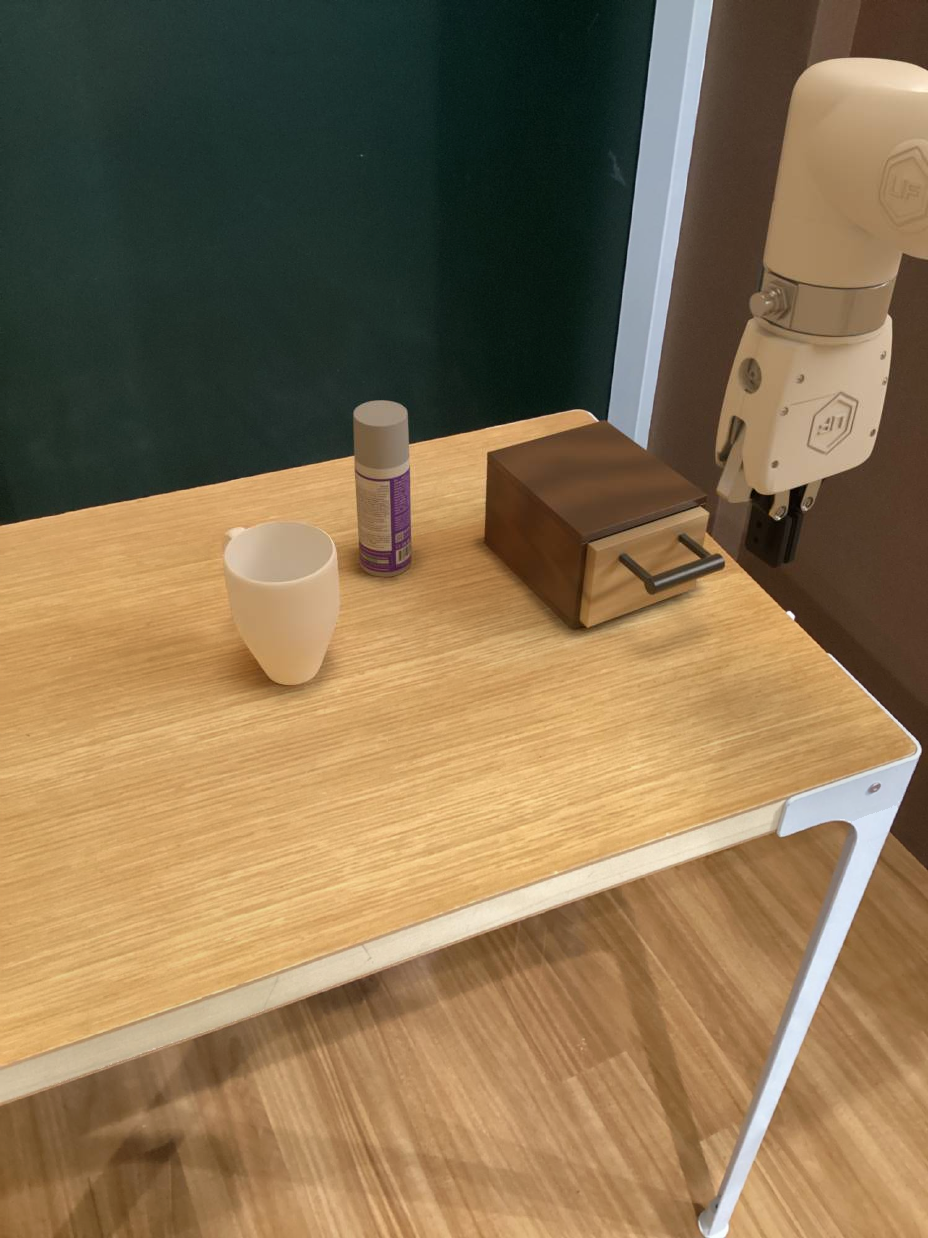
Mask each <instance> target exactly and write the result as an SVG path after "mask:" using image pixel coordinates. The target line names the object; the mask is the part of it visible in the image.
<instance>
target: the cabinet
mask: <svg viewBox="0 0 928 1238" xmlns="http://www.w3.org/2000/svg"><path fill="white" fill-rule="evenodd" d="M485 480H486V481H485V482H486V483H485V510H484V511H485V513H484V539H483V542H484V544H485V545H486V546H487V547H488V548H489V549H490V550H491V551H492V552H493V553H494V554H495V555H496V556H497V557H498V558H499V559H500V560H501V561H502V562H503V563H504V564H505V565H506V566H507V567H508V568H509V569H510V570H511V571H512V572H513V573H514V574H515V575H516V576H517V577H518V578H519V579H520V580H521V581H522V582H524V584H526V586H527V587H529V589H530V590H531V591H532V592H534V594H535V595H537V596H538V598H539V599H540V600H542V602H543V603H545V605H547V606H548V608H550V610H551V611H552V612H554V613H555V614H556V615H557V616H558V617H559V618H560V619H561V620H562V621H563V623H564V624H565V625H566V626H568V628H570V629H571V630H572V631H574V630H576V629H580V628H582V627H586V626H585V625H584V624H583V623H582V622H581V621H580V620H579V619H580V610H581V601H582V592H583V582H584V573H585V564H586V555H587V546H588V543H589V541H592V540H595V539H598V538H601V537H604V536H607V535H610V534H613V533H616V532H619V531H622V530H625V529H628V528H631V527H634V526H637V525H640V524H643V523H646V522H649V521H653V520H656V519H659V518H662V517H665V516H668V515H671V514H674V513H677V512H680V511H682V512H684V511H687V510H690V509H693V508H696V507H699V506H701V507H702V508H703V509H705V510H706V506H707V505H706V504H707V500H708V494H707V493H705V492H704V491H703V490H702V489H700V488H699V487H697V486H696V485H694V484H693V483H692V482H690V481H689V480H688V479H686V478H685V477H683V476H682V475H681V474H680V473H679V472H677V471H675V469H673V468H671V466H669V465H667V464H666V463H665V462H663V461H662V460H660V459H659V458H658V457H656V456H655V455H654V454H652V453H651V452H650V451H648V450H647V449H646V448H644V447H642V446H641V445H640V444H639V443H637V442H636V441H635V440H633V439H632V438H631V437H629V436H627V435H626V434H625V433H623V432H622V431H621V430H619V429H618V428H617V427H615V426H614V425H613V424H612V423H610V422H609V421H607V420H606V419H602V420H599V421H596V422H592V423H588V424H584V425H581V426H577V427H573V428H570V429H566V430H563V431H559V432H556V433H553V434H548V435H545V436H541V437H537V438H533V439H530V440H526V441H523V442H520V443H516V444H512V445H509V446H505V447H502V448H498V449H495V450H491V451H487V453H486V479H485Z"/></svg>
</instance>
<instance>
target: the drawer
mask: <svg viewBox="0 0 928 1238" xmlns="http://www.w3.org/2000/svg"><path fill="white" fill-rule="evenodd" d="M709 517H710V512H709V511H707V510H706V508H705V509H703V508H702V507H701V506H699V507H696V508H693V509H690V510H687V511H684V512H682V511H680V512H677V513H674V514H671V515H668V516H665V517H662V518H659V519H656V520H653V521H649V522H646V523H643V524H640V525H637V526H635V528H633V529H630V530H627V531H624V532H621V533H618V534H615V535H612V536H609V537H606V538H603V539H600V540H597V541H594V542H592V541H589V543H588V546H587V555H586V564H585V573H584V582H583V592H582V601H581V610H580V619H579V620H580V621H581V622H582V623H583V624H584V625H585V626H584V627H586V628H587V629H588V628H590V627H594V626H596V625H599V624H601V623H604V622H607V621H609V620H613V619H615V618H619V617H621V616H623V615H626V614H629V613H631V612H634V611H636V610H640V609H642V608H645V607H648V606H650V605H654V604H657V603H659V602H661V601H664V600H667V599H669V598H673V597H674V596H678V595H680V594H683V593H686V592H688V591H691V590H694V589H696V585H697V580H699V579H701V578H704V577H708V576H710V575H712V574H714V573H717V572H720V571H723V570H724V569H725V567H726V561H725V559H724V557H723V555H721V554H720V553H717V552H716V553H713V554H712V553H711V552H709V551H708V550H707V549H705V548H704V543H705V538H706V533H707V528H708V523H709Z"/></svg>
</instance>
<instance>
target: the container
mask: <svg viewBox="0 0 928 1238" xmlns="http://www.w3.org/2000/svg"><path fill="white" fill-rule="evenodd" d="M352 417H353V456H354V457H353V459H354V460H353V461H354V481H355V498H356V499H355V500H356V519H357V536H358V554H359V565H360V567H361V569H362V570H363V571H364V572H366V573H367V574H369V575H372V576H374V577H379V578H389V577H390V578H391V577H395V576H399V575H402V574H403V573H405V572H406V571H407V570H409V568H410V567H411V565H412V512H411V511H412V507H411V503H412V502H411V497H412V496H411V460H410V459H411V457H410V438H409V436H410V435H409V415H408V409H407V408H406V407H405V406H403V404H401V403H399V402H395V401H391V400H384V399H383V400H382V399H381V400H378V399H377V400H370V401H367V402H366V401H365V402H364V403H361V404H360V405H358V406H357V407H355V408H354V410H353V415H352Z"/></svg>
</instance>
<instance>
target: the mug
mask: <svg viewBox="0 0 928 1238" xmlns="http://www.w3.org/2000/svg"><path fill="white" fill-rule="evenodd" d="M221 549H222V555H223V556H222V567H223V574H224V581H225V587H226V588H225V589H226V593H227V594H226V595H227V600H228V605H229V611H230V614H231V617H232V620H233V623H234V626H235V628H236V630H237V632H238V634H239V637H241V639H242V641H243V642H244V644H245V645H246V647H247V648H248V650H249V651H250V653H251V654H252V656H253V657H254V658H255V660H256V662H257V663H258V664H259V666H260V667H261V669H262V670H263V672H264V674H266V676H267V677H268V678H269V679H270V680H271V681H273V682H274V683H276V684H279V685H282V686H296V685H300V684H304V683H307V682H309V681H310V680H312V679H313V678H314V677H316V675H317V674H318V672H319V671H320V668H321V666H322V664H323V661H324V657H325V655H326V653H327V650H328V647H329V646H330V643H331V639H332V637H333V635H334V633H335V629H336V627H337V623H338V619H339V613H340V605H341V591H340V590H341V589H340V576H339V564H338V563H339V562H338V552H337V547H336V545H335V542H334V540H333V539H332V537H331V536H330V535H329V534H328V533H327V532H325V530H323V529H321V528H319V527H318V526H316V525H313V524H310V523H306V522H304V521H303V522H302V521H296V520H275V521H268V522H262V523H259V524H255V525H253V526H251V527H247V528H245V527H243V526H237V527H232V528H230V529H228V530H227V531H226V532H225V533H224V534H223V536H222V539H221Z"/></svg>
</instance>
